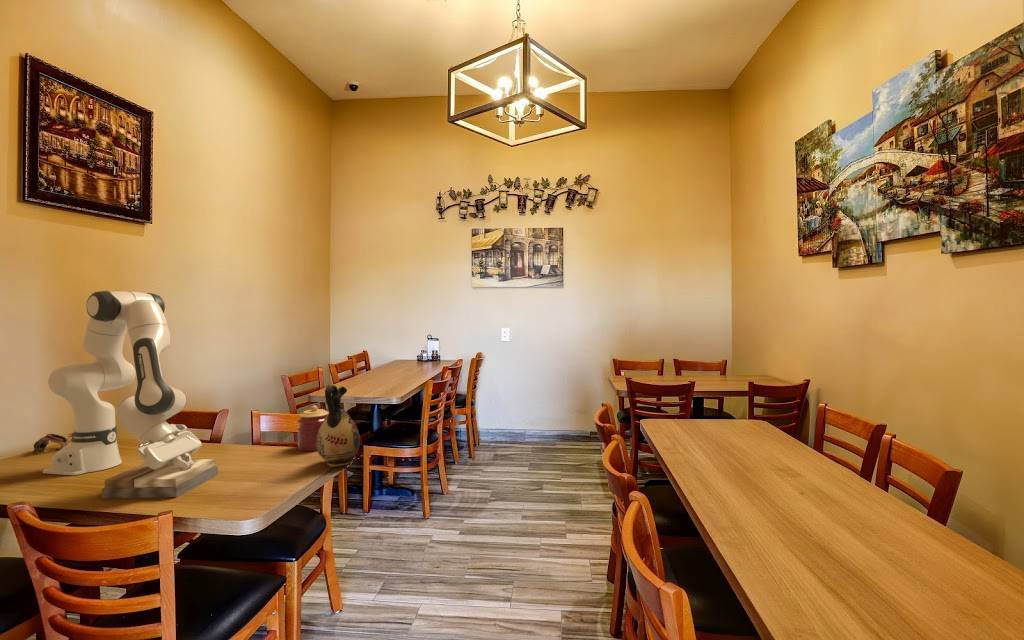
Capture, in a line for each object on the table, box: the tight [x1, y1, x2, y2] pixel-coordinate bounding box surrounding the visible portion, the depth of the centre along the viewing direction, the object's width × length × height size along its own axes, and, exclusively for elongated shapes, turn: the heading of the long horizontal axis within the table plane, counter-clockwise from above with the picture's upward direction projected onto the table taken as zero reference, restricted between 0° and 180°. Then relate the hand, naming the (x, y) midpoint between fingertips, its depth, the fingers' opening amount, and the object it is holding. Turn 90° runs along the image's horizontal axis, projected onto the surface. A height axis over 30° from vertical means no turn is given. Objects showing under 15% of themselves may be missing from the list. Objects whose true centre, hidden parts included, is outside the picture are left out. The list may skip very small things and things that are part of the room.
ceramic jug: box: [316, 384, 361, 468], centre depth 172 cm, size 17×15×30 cm
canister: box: [297, 405, 329, 452], centre depth 194 cm, size 13×13×18 cm
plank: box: [134, 458, 216, 488], centre depth 152 cm, size 13×19×2 cm
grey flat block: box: [101, 462, 219, 499], centre depth 152 cm, size 23×20×6 cm
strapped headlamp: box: [32, 433, 69, 455], centre depth 192 cm, size 12×10×8 cm
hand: (190, 466), depth 152 cm, fingers closed, pressing on plank
